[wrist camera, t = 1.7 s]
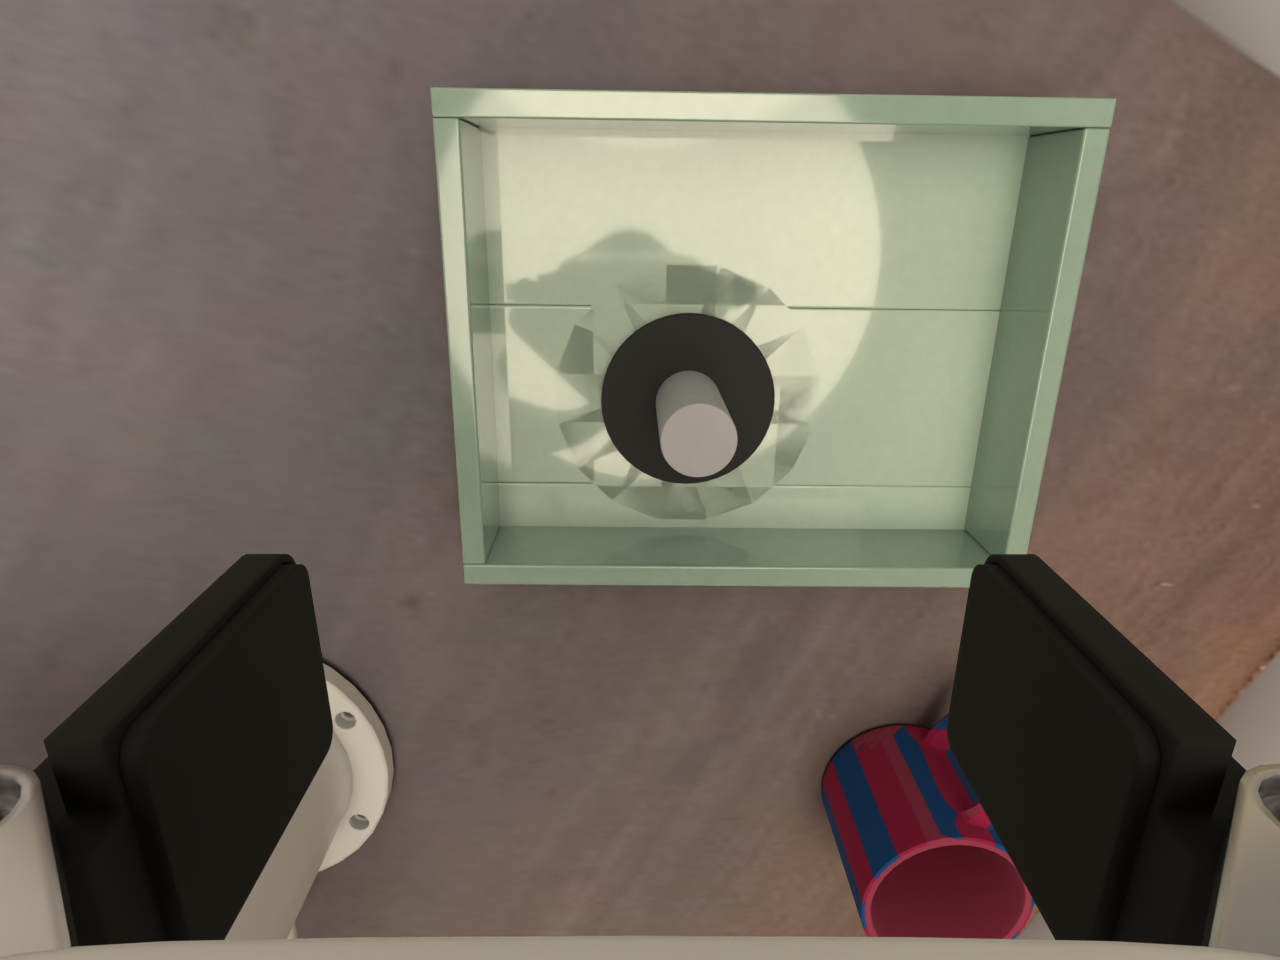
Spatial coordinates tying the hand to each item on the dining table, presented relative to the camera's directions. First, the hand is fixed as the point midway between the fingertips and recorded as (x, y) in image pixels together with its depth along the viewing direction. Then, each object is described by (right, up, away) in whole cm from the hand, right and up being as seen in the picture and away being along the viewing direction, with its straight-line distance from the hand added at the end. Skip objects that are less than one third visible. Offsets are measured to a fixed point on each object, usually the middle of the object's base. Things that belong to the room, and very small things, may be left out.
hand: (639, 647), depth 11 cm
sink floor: (+4, +8, +19) cm, 20 cm away
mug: (+12, -10, +25) cm, 30 cm away
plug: (+2, +6, +19) cm, 20 cm away
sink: (+4, +8, +19) cm, 20 cm away
